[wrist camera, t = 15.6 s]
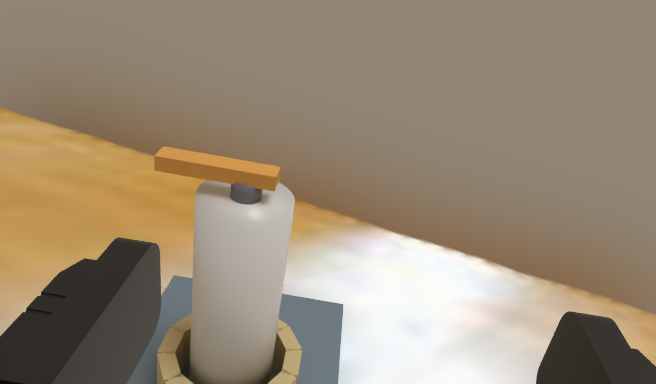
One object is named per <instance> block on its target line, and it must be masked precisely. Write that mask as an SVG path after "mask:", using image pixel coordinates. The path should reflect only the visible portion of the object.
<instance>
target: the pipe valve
mask: <svg viewBox="0 0 656 384" xmlns="http://www.w3.org/2000/svg"><path fill="white" fill-rule="evenodd" d="M155 171H161V172H166V173H172V174H178V175H183V176H189V177H195V178H200V179H206V180H207V181H205V182H204V183H202V184H201V185H200V186H199V187H198V189H197V191H196V194H195V223H194V253H193V282H192V311H191V340H190V369H189V380H190V381H191V382H192V383H194V384H268V383H269V382H270V376H271V369H272V361H273V354H274V347H275V340H276V333H277V326H278V319H279V311H280V304H281V297H282V290H283V283H284V276H285V269H286V261H287V254H288V247H289V240H290V233H291V226H292V219H293V211H294V204H295V199H294V196H293V194H292V193H291V191H290V190H289V189H288V188H286V187H285V186H284V185H282V184H280V183H278V182H279V176H280V167H278V166H272V165H267V164H260V163H255V162H250V161H244V160H238V159H233V158H227V157H221V156H215V155H210V154H204V153H199V152H193V151H187V150H182V149H176V148H170V147H165V146H164V147H163V148H162V149H161V150H160V151H159V152H158V153H157V154H156V155H155Z"/></svg>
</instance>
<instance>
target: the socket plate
mask: <svg viewBox="0 0 656 384" xmlns="http://www.w3.org/2000/svg"><path fill="white" fill-rule="evenodd" d="M192 282H193V279H192V278H186V277H181V276H175V275H174V276H173V278H172V280H171V281H170V283H169V285H168V287H167V288H166V290H165V292H164V293H163V295H162V297H161V311H160V317H159V321H158V325H157V328H156V331H155V333H154V335H153V337H152V339H151V341H150V343H149V344H148V346H147V348H146V350H145V352H144V354H143V355H142V357H141V359H140V361H139V363H138V364H137V366H136V368H135V370H134V372H133V374H132V375H131V377H130V379H129V381H128V383H127V384H194V383H192V382H191V381H190V380H189V369H190V340H191V311H192ZM342 315H343V304H338V303H332V302H326V301H320V300H315V299H309V298H303V297H297V296H291V295H285V294H282V297H281V304H280V311H279V319H278V326H277V333H276V340H275V347H274V354H273V361H272V369H271V376H270V382H269V383H268V384H338V373H339V358H340V344H341V330H342Z"/></svg>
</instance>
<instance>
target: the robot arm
mask: <svg viewBox="0 0 656 384" xmlns="http://www.w3.org/2000/svg"><path fill="white" fill-rule="evenodd" d="M160 311H161V277H160V250H159V246H158V245H157V244H156V243H150V242H144V241H138V240H132V239H125V238H116V239H115V240H114V241H113V242H112V243H111V244H110V245H109V246H108V248H107V249H106V250H105V251H104V252H103V253H102V255H101V256H100V257H99V258H98V259H97V260H91V259H83V260H81V261H79V262H78V263H76V264H74V265H72V266H70V267H69V268H67V269H65V270H63V271H62V272H60V273H59V274H58V275H57V276H56V277H55V278H54V279H53V280H52V281H51V282H50V283H49V284H48V285H47V287H46V288H45V289H44V290H43V291H42V292H41V296H37V297H36V298H35V300H34V301H33V302H32V303H31V304H30V305H29V306H28V307H27V309H26V312H25V313H24V312H23V313H22V314H21V315H20V316H19V317H18V318H17V319H16V320H15V321H14V322H13V323H12V324H11V326H10V327H9V328H8V329H7V330H6V331H5V332H4V333H3V334H2V335H1V336H0V384H127V383H128V381H129V379H130V377H131V375H132V374H133V372H134V370H135V368H136V366H137V364H138V363H139V361H140V359H141V357H142V355H143V354H144V352H145V350H146V348H147V346H148V344H149V343H150V341H151V339H152V337H153V335H154V333H155V331H156V328H157V325H158V321H159V317H160ZM536 384H656V366H655V365H653V364H652V363H651V362H650V361H649V360H648V359H647V358H646V357H645V356H644V355H643V354H642V353H641V352H640V351H639V350H637V349H631V348H630V346H629V345H628V343H627V341H626V340H625V338H624V336H623V335H622V333H621V331H620V330H619V328H618V326H617V325H616V323H615V322H614V321H613V320H612V319H610V318H607V317H601V316H595V315H589V314H583V313H576V312H567V313H565V314H564V315H563V317H562V318H561V320H560V322H559V324H558V326H557V329H556V331H555V333H554V335H553V337H552V340H551V342H550V344H549V346H548V349H547V351H546V353H545V355H544V357H543V360H542V362H541V364H540V366H539V369H538V373H537V380H536Z"/></svg>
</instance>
